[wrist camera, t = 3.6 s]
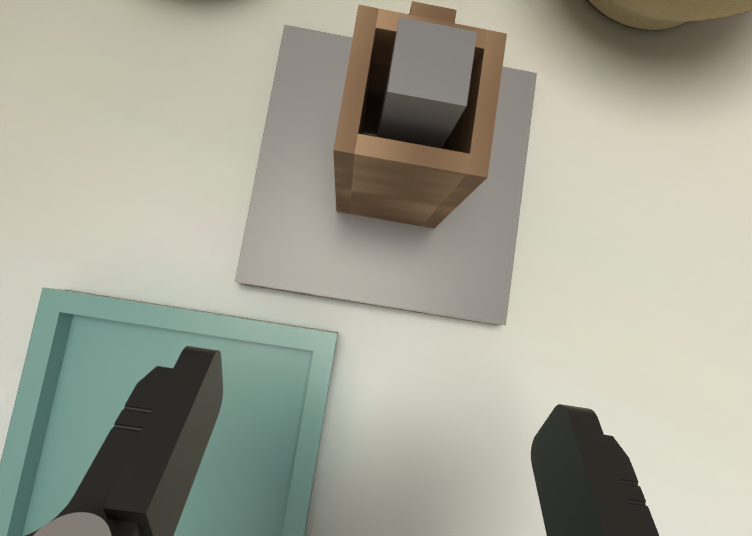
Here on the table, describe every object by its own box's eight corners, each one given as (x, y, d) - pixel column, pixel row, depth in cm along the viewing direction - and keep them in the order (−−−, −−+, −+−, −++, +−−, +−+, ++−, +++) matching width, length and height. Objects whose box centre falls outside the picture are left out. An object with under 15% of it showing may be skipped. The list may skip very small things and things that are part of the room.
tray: (-1, 579, 22) (-35, 604, 20) (67, 290, 24) (42, 287, 22) (291, 614, 23) (286, 642, 21) (337, 332, 25) (337, 333, 23)
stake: (239, 283, 25) (146, 251, 13) (287, 38, 26) (242, -193, 14) (497, 324, 26) (634, 330, 14) (528, 83, 27) (674, -99, 15)
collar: (336, 211, 24) (333, 150, 15) (354, 102, 25) (362, -17, 16) (434, 228, 25) (487, 177, 16) (450, 120, 25) (509, 12, 16)
